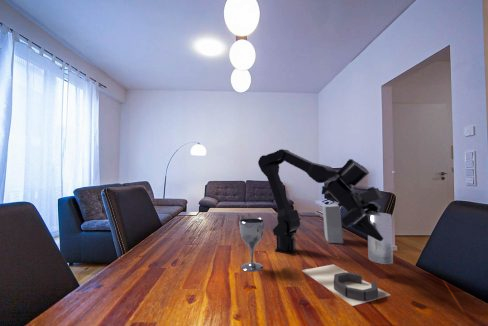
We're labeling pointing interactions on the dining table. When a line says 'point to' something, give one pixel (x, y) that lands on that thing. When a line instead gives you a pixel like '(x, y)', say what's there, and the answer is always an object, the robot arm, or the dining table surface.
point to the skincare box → (332, 223)
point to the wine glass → (251, 239)
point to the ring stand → (346, 284)
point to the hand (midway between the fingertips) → (385, 237)
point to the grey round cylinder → (382, 249)
